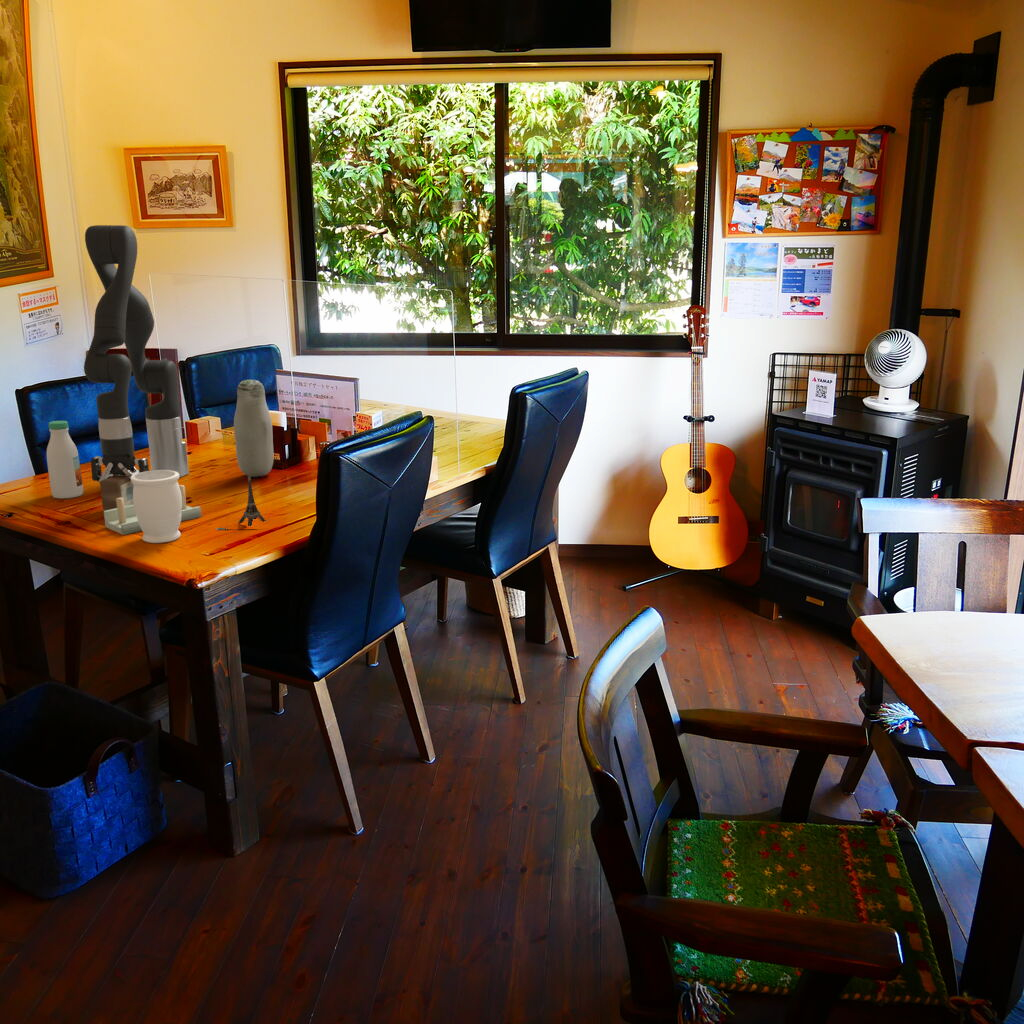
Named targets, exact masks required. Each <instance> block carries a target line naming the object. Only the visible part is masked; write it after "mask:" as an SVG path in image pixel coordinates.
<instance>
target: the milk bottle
mask: <svg viewBox="0 0 1024 1024" xmlns="http://www.w3.org/2000/svg"><path fill="white" fill-rule="evenodd" d="M48 429H49V432H50V438H49V441H48V444H47V446H46V447H47V448H46V462H47V463H46V464H47V470H48V477H49V484H50V491H51V495H52V498H55V499H64V500H65V499H74V498H76V497H81V496H82V495H84V486H83V484H84V483H83V478H82V471H81V464H80V463H81V462H80V458H79V457H80V456H79V452H78V449H77V446H76V444H75V443H74V441H73V440H72V437H71V436H70V434H69V422H68V420H53V421H50V422H48Z"/></svg>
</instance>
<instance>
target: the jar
mask: <svg viewBox="0 0 1024 1024" xmlns="http://www.w3.org/2000/svg"><path fill="white" fill-rule="evenodd" d="M179 479H180V477H179V473H178V472H176V471H171V470H153V471H151V470H149V471H146V472H141V473H137V474H135V475H133V476H131V482H132V483H133V484H134V488H133V504H134V509H135V513H136V516H137V519H138V523H139V525H140V527H141V529H142V531H141V532H143V535H142V538H141V539H142V540H143V541H144V542H145V543H149V544H150V543H151V544H162V543H169V542H172V541H176V540H177V539H179V538H180V537H181V535H182V534H181V531H180V530H179V528H180V525H181V523H182V521H181V510H182V496H181V490H180V487H179V485H180V484H179V482H178V480H179Z"/></svg>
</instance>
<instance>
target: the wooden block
mask: <svg viewBox="0 0 1024 1024" xmlns="http://www.w3.org/2000/svg"><path fill="white" fill-rule="evenodd" d="M137 470H138V469H137ZM138 471H139V473H140V470H138ZM131 473H133V472H132V471H131ZM99 488H100V495H101V502H102V510H103V513H104V511H106V510H111V509H115V508H117V502H116V498H123V499H124V507H125V506H129V505H134V504H133V488H134V484H133V483H132V482H131V479H130V478H128V476H127V475H125V476H123V475H112V476H111V477H109V478H106V479H104V480H102V481H100V482H99Z"/></svg>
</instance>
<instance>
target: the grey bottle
mask: <svg viewBox="0 0 1024 1024" xmlns="http://www.w3.org/2000/svg"><path fill="white" fill-rule="evenodd" d="M236 394H237V399H236V408H235V412H234V417H233V429H234V430H233V431H234V434H233V435H234V442H235V444H234V445H235V451H236V460H237V466H238V468H239V469H240V471H241V473H243V474H244V475H246V476H247V477H248V476H250V477H251V478H259V476H260V477H264V476H266V475H268V474H269V473H270V472H271V471H272V468H273V465H274V460H275V459H274V457H275V456H274V442H273V441H274V439H273V437H274V435H273V422H272V417H271V414H270V411H269V407H268V405H267V401H266V391H265V387H264V385H263V383H261V381H259V380H256V379H245V380H242V381H241V382H239V383H238V386H237V388H236Z"/></svg>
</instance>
